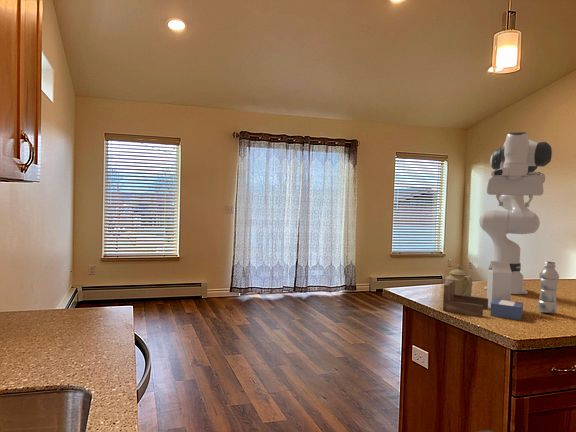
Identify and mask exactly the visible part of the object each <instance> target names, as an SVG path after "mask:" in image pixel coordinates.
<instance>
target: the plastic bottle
mask: <svg viewBox="0 0 576 432" xmlns="http://www.w3.org/2000/svg"><path fill="white" fill-rule="evenodd" d="M543 267H544V268H543V269H542V270H541V271H540V272H539V286H540V287H539V288H540V290H539V298H538V301H537V310H538V311H539V312H541V313H544V314H555V313H556V312H557V311H558V303H557V290H558V284H559V280H560V276H559V275H560V274H559V273H558V271H557V270H556V269H555V268H556V262H555V261H544V262H543Z"/></svg>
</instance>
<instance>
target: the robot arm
mask: <svg viewBox="0 0 576 432" xmlns="http://www.w3.org/2000/svg"><path fill="white" fill-rule="evenodd" d="M552 158H553V149H552V146H551V145H550V144H549V143H548V142H547V141H535V140H532V139H529V134H528V132H525V131H523V132H522V131H521V132H520V131H519V132H517V131H516V132H509V133H507V135H506V137H505V141H504V143H503V147H502V146H499V148H498V149H495V150H494V151H493V152H492V153H491V156H490V159H489V163H490V164H489V165H490V166H491V168H492V169H493V170H492V171H491V173H490V175H491V177H489V179H488V181H487V188H486V193H487V195H490V196H491V195H492V196H493V195H494V196H495V198H496V199H497V201H498V207H501V208H503V209H504V210H503V209H502V210H500V209H499V210H497V209H495V210H486V211H483V213H481V215H480V218H479V220H478V221H479V227H481V229H482V230H483V231H484V232H485V233H486V234H488V236H489V237H490V238H491V240H492V243H493V249H494V253H493V254H494V255H493V256H494V258H493V259H494V260H493V261H501V262H510V264H509V265H510V268H511V271H512V284H511V295H528V290H527V289H526V288H525V287H524V286H525V283H524V275H523V273H521V268H522V265H521V247H520V244H518V243H516V242H515V241H513V240H511V239H509V238H508V237H507V235H508V234H512V235H513V234H515V235H529V234H535V233H536V232H537V231H538V229H539V227H540V223H541V222H540V217H539V216H538V215H537V214H536V213H535V212H534V211H532V210H530V209H529V207H530V203H531V201H532V200H533V199H534V196H542V195H544V183H545V181H546V175H545V174H544V173H543V172H541V171H536V170H537V169H538V167H546V166H547V165H548V164H550V162H551V161H552ZM535 171H536V172H535ZM525 196H528V200H527V202H525ZM483 289H484V290H487V285H485V286H484V287H483Z"/></svg>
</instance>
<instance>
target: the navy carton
mask: <svg viewBox="0 0 576 432" xmlns="http://www.w3.org/2000/svg"><path fill="white" fill-rule="evenodd" d="M523 309H524V302H519V301H513V300H511V301H507V300H498V299H494V300H493V302H492V303H491V308H490V316H491V317H495V316H497V317H496V318H502V317H503V318H504V319H508V318H510V320H515V321H521V320H522V318H523V315H524V314H523V313H524V312H523V311H524V310H523ZM521 317H522V318H521ZM503 318H502V319H503Z"/></svg>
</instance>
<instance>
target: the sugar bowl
mask: <svg viewBox="0 0 576 432" xmlns="http://www.w3.org/2000/svg"><path fill="white" fill-rule="evenodd" d="M461 268H462V265H461V264H460V263H458V264H457V265H456V269H452V270H451V271H449V272H448V273H449V275H447V276H445V284H446V283H448V282H449V281H451V280H455V294H458V295H466V296H472V291H473V290H472V289H473V288H472V287H473V278H472V277H471V276H470V275H469V274H470V273H468V272H467V271H466V270H463V269H461ZM445 284H444V285H445Z"/></svg>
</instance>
